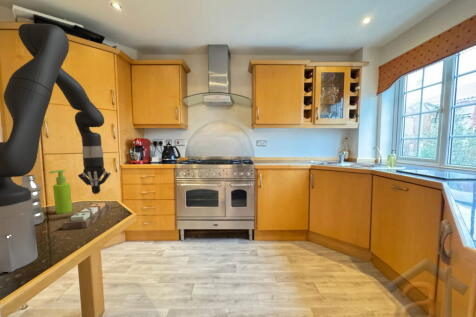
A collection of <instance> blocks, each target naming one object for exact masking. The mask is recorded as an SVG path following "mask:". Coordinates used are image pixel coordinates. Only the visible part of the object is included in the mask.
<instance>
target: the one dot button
mask: <svg viewBox="0 0 476 317" xmlns="http://www.w3.org/2000/svg"><path fill="white" fill-rule="evenodd" d="M105 205H106V204H105V202H94V203H93V204H90V205H89V206H88V208H92V207H98V209H102V208H103V207H105Z"/></svg>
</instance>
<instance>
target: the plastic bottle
mask: <svg viewBox="0 0 476 317" xmlns="http://www.w3.org/2000/svg"><path fill="white" fill-rule="evenodd" d="M20 177H21V179H20V180H21V182H22V183H20V185H19V186H22V187H25V188H28V189H29V190H30V192H31V199H32V207H33V217H34V226H36V225H39V224H42V223H43V221H44V220H45V213H44V211H43V207H42V204H41V203H42V202H41V193H42V192H41V191H42V190H41V189H42V187H41V185H40V184H39V183H38V182H36V176H35V174H29V175H28V174H26V175H24V176H20Z"/></svg>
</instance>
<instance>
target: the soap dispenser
mask: <svg viewBox="0 0 476 317" xmlns="http://www.w3.org/2000/svg"><path fill="white" fill-rule="evenodd" d="M65 171H66V170H64V169H57V170H51V171H49V174H54V173H57V177H56V178H55V182H56V184H54V185H53V186H52V188H53V190H52V191H53V198H54V206H55V214H56V215H63V214H68V213H71V212H72V211H73V205H72V204H73V203H72V194H71V184H70V182H69V183H67V177H66V176H64V172H65Z"/></svg>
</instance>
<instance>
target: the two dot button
mask: <svg viewBox="0 0 476 317" xmlns="http://www.w3.org/2000/svg"><path fill="white" fill-rule="evenodd" d="M88 217H90V212H87V213H81V212H77V213H75V214H74V215H72V216H70V219H71V221H82V220H85V219H87V218H88Z"/></svg>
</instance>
